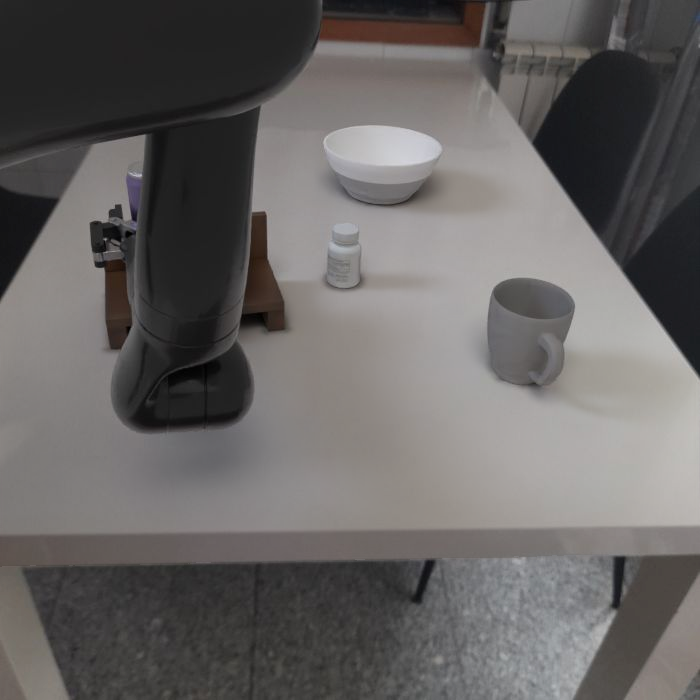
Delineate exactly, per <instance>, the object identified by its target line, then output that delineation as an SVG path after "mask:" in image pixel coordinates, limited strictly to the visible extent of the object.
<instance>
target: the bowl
mask: <svg viewBox="0 0 700 700" xmlns="http://www.w3.org/2000/svg"><path fill="white" fill-rule="evenodd" d="M322 146H323V148H324V151H325V154H326V157H327V160H328V164H329V165H330V168H331V169H332V171H333V173H334V175H335V177H337V179H338V181H339V183H340V185H341V186H342V187H343V188H344V189H345V190H346V192H347V194H348V195H349V196H350V197H352V198H353V199H355V200H357V201H359V202H364V203H368V204H373V205H394V204H399V203H403V202H405V201H407V200H409V199H410V198H411V197H412V196H413V194H414V193H416V192H417V191H419V190H420V188H421V187H422V185H423V184H424V183H425V182H426V181H427V180H428V179H429V177H430V176H431V175H432V173H433V172H434V170H435V168H436V167H437V164H438V162H439V160H440V158H441V157H442V154H443V147H442V144H441V143H440V142H439V141H438V140H437V139H435V138H434V137H432V136H430V135H428V134H427V133H423V132H420V131H417V130H414V129H409V128H406V127H405V128H404V127H399V126H391V125H380V124H379V125H378V124H377V125H375V124H373V125H372V124H371V125H369V124H368V125H365V124H364V125H355V126H348V127H343V128H340V129H337V130H333V131H332V132H330V133H329V134H327V135H326V136H325V137H324V139H323V143H322Z"/></svg>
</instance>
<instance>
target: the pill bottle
mask: <svg viewBox="0 0 700 700" xmlns="http://www.w3.org/2000/svg"><path fill="white" fill-rule="evenodd" d="M359 239H360V228H359V227H358V225H356V224H354V223H350V222H340V223H335V225H333V226H332V230H331V240H330V241H329V242H328V245H327V262H326V280H327V282H328V284H329V285H330V286H332V287H335V288H338V289H351V288H354V287H356V286H357V285H358V284H359V283H360V280H361V266H362V264H361V263H362V244H361V243H360V241H359Z"/></svg>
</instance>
